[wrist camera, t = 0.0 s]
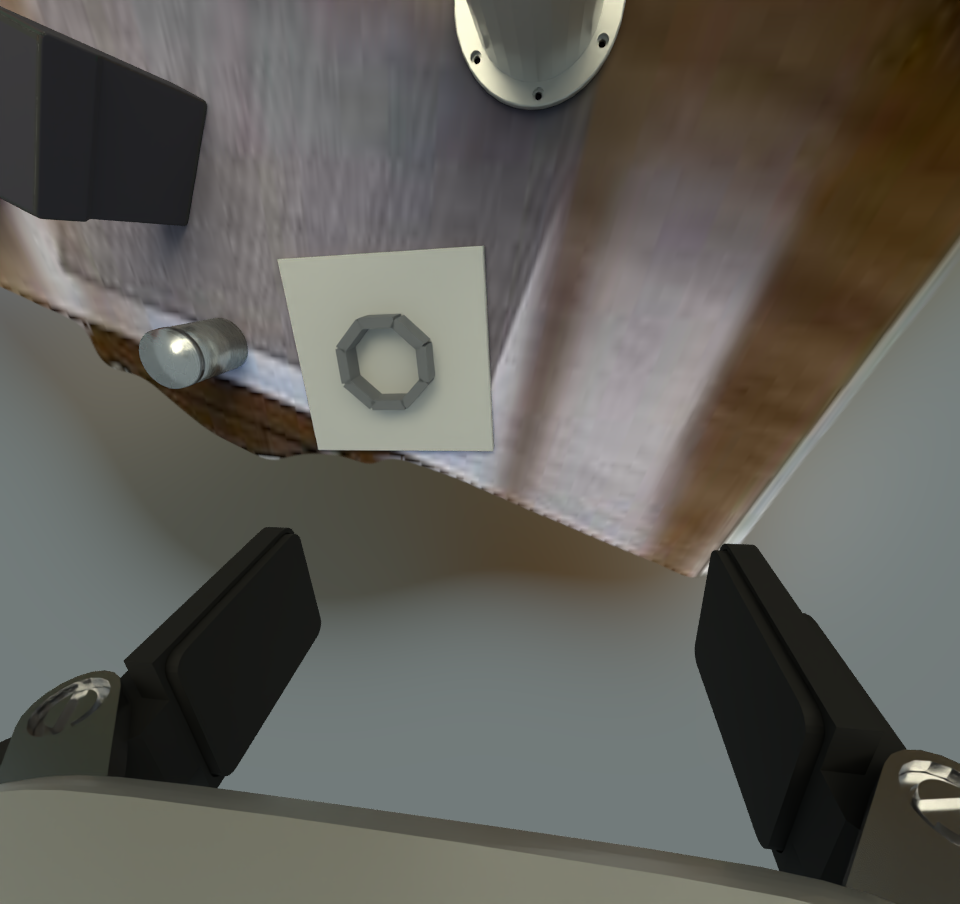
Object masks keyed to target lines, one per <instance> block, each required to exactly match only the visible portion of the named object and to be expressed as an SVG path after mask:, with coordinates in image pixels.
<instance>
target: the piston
mask: <svg viewBox="0 0 960 904" xmlns="http://www.w3.org/2000/svg"><path fill="white" fill-rule="evenodd" d="M139 354H140V359H141V362H142V364H143V366H144V368H145V369H146V371H147V372H148V374H149V375H150V376H151V377H152V378H153V379H154V380H155V381H157V382H158V383H159V384H161V385H163V386H165V387H168V388H172V389H180V388H183V387H188V386H191V385H193V384H195V383H197V382H200V381H203V380H205V379H208V378H211V377H214V376H216V375H219V374H222V373H225V372H227V371H230V370H233V369H236V368H238V367H240V366H241V365H242V364H243V363H244V362H245V360H246V358H247V354H248V346H247V342H246V339H245V337H244V335H243V333H242V332H241V330H240V329H239V328H238V327H237V326H236V325H235V324H233V323H232V322H230V321H228V320H226V319H223V318H213V319H207V320H202V321H197V322H192V323H187V324H182V325H176V326H171V327H163V328H158V329H155V330H151V331H149V332H147V333H146V334H145V335H144V336H143V337H142V339H141V341H140V345H139Z"/></svg>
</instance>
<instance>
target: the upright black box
mask: <svg viewBox="0 0 960 904" xmlns="http://www.w3.org/2000/svg"><path fill="white" fill-rule="evenodd" d="M206 109H207V104H206V102H205V101H204V100H203V99H201V98H199V97H197V96H196V95H194V94H192V93H190V92H188V91H186V90H185V89H183V88H181V87H179V86H177V85H175V84H173V83H171V82H169V81H167V80H164V79H162V78H160V77H158V76H155V75H153V74H151V73H149V72H146V71H144V70H142V69H140V68H137V67H135V66H133V65H131V64H128V63H126V62H124V61H122V60H119V59H117V58H115V57H113V56H110V55H108V54H106V53H104V52H102V51H99V50H97V49H95V48H93V47H90V46H88V45H86V44H84V43H81V42H79V41H77V40H75V39H72V38H70V37H68V36H66V35H63V34H61V33H59V32H57V31H54V30H52V29H50V28H48V27H45V26H43V25H41V24H39V23H37V22H34V21H32V20H30V19H28V18H25V17H23V16H21V15H19V14H16V13H14V12H12V11H10V10H7V9H5V8H3V7H1V6H0V198H1V199H3V200H5V201H7V202H9V203H11V204H13V205H14V206H16V207H18V208H20V209H22V210H24V211H26V212H28V213H30V214H32V215H34V216H36V217H38V218H40V219H51V220H66V221H82V222H86V221H87V220H89V219H99V220H113V221H126V222H140V223H153V224H167V225H180V226H185V225H186V224H187V223H188V218H189V212H190V206H191V200H192V193H193V187H194V181H195V175H196V169H197V163H198V157H199V151H200V145H201V139H202V133H203V127H204V121H205V115H206Z"/></svg>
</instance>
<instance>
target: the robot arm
mask: <svg viewBox="0 0 960 904" xmlns="http://www.w3.org/2000/svg"><path fill="white" fill-rule="evenodd" d="M625 2H626V0H454V19H455V27H456V34H457V38H458V41H459V45H460V48H461V51H462V54H463V57H464V59H465V61H466V63H467V66H468V67H469V69H470V71H471V72H472V74H473V76H474V77H475V79H476V80H477V82H478V83H479V84H480V85H481V86H482V87H483V88H484V89H485V91H486V92H487V93H489V94H490V95H491V96H493V97H494V98H495V99H497V100H498V101H500V102H502V103H504V104H506V105H509V106H511V107H514V108H519V109H525V110H536V109H545V108H548V107H552V106H555V105H558V104H560V103H562V102H564V101H566V100H568V99H569V98H571V97H573V96H574V95H575V94H577V93H578V92H579V91H580V90H582V89H583V88H584V87H585V86H586V85H587V84H588V83H589V82H590V81H591V80H592V78H593V77H594V76H595V75H596V74H597V73H598V71H599V70H600V68H601V67H602V65H603V64H604V62H605V60H606V59H607V57H608V56H609V54H610V51H611V49H612V47H613V44H614V42H615V40H616V38H617V35H618V31H619V28H620V25H621V22H622V17H623V12H624V7H625ZM600 42H604V43H605V47H604V48H600V47H599V45H598V44H599V43H600ZM477 58H480V63H479V64H475V60H476V59H477ZM537 94H541V95H542V98H541V99H540V100H536V99H535V97H536V95H537ZM320 627H321V619H320V615H319V610H318V607H317V603H316V599H315V595H314V591H313V587H312V583H311V579H310V575H309V571H308V567H307V563H306V560H305V556H304V552H303V548H302V544H301V540H300V537H299V536H298V535H296V534H294V532H293V531H292V529H290V528H277V527H266V528H264V529H262V530H261V531H260V532H259V533H258V534H257V535H256V536H255V537H254V538H253V539H251V540H250V541H249V542H248V543H247V544H246V545H245V546H244V547H243V548H242V549H241V550H240V551H239V552H238V553H237V554H236V555H235V556H234V557H233V558H232V559H230V560H229V561H228V562H227V563H226V564H225V565H224V566H223V567H222V568H221V569H220V570H219V571H218V572H217V573H216V574H215V575H214V576H213V577H211V578H210V579H209V580H208V581H207V582H206V583H205V584H204V585H203V586H202V587H201V588H200V589H199V590H198V591H197V592H196V593H195V594H194V595H193V596H191V597H190V598H189V599H188V600H187V601H186V602H185V603H184V604H183V605H182V606H181V607H180V608H179V609H178V610H177V611H176V612H175V613H173V614H172V615H171V616H170V617H169V618H168V619H167V620H166V621H165V622H164V623H163V624H162V625H161V626H160V627H159V628H158V629H157V630H156V631H154V633H152V634H151V635H150V636H149V637H148V638H147V639H146V640H145V641H144V642H143V643H142V644H141V645H140V646H139V647H138V648H137V649H135V650H134V651H133V652H132V653H131V654H130V655H129V656H128V657H127V658H126V659H125V660H124V663H125V665H126V667H127V669H128V671H127V672H126V673H125V674H124V675H123V676H122V677H121V678H120V677H119V676H118V675H116V674H115V673H114V672H110V671H105V670H104V671H95V672H90V673H86V674H83V675H80V676H77V677H75V678H73V679H70V680H68V681H66V682H64V683H62V684H60V685H59V686H57V687H56V688H54V689H52V690H51V691H49V692H47V693H46V694H45V695H43V696H42V697H41V698H40V699H38V700H37V701H36V702H35V703H33V704H32V705H31V706H30V708H29V709H28V710H27V711H26V712H25V713H24V714H23V715H22V716H21V718H20V720H19V721H18V723H17V725H16V727H15V729H14V732H13V734H12V737H11V738H9V739H6V740H4V741H2V742H0V904H960V763H957V762H955V761H953V760H951V759H948V758H946V757H944V756H942V755H938V754H934V753H930V752H926V751H923V750H907V749H906V748H905V746H904V745H903V744H902V742H901V741H900V739H899V738H898V737H897V735H896V734H895V732H894V731H893V729H892V728H891V727H890V725H889V724H888V722H887V721H886V720H885V718H884V717H883V716H882V714H881V713H880V711H879V710H878V708H877V707H876V705H875V704H874V703H873V702H872V700H871V699H870V697H869V696H868V694H867V693H866V691H865V690H864V689H863V687H862V686H861V684H860V683H859V682H858V680H857V679H856V677H855V676H854V675H853V673H852V672H851V670H850V669H849V668H848V666H847V665H846V663H845V662H844V660H843V659H842V658H841V656H840V655H839V653H838V652H837V651H836V649H835V648H834V646H833V645H832V644H831V642H830V641H829V639H828V638H827V637H826V635H825V634H824V633H823V631H822V630H821V628H820V627H819V626H818V624H817V623H816V621H815V620H814V619H813V618H812V617H811V616H809V615H807V614H805V613H802V612H801V610H800V609H799V607H798V606H797V604H796V603H795V602H794V600H793V599H792V597H791V596H790V594H789V593H788V591H787V590H786V589H785V587H784V586H783V584H782V583H781V581H780V580H779V579H778V577H777V576H776V574H775V573H774V571H773V570H772V569H771V567H770V565H769V564H768V563H767V561H766V560H765V558H764V557H763V555H762V554H761V552H760V551H759V549H758V548H757V547H756V546H755V545H746V544H745V545H744V544H723V545H722V546H721V548H720V551H718V550H714V551H713V552H712V553H711V557H710V563H709V568H708V574H707V580H706V586H705V591H704V597H703V603H702V609H701V614H700V620H699V625H698V631H697V637H696V642H695V658H696V663H697V666H698V669H699V672H700V675H701V678H702V681H703V683H704V686H705V689H706V692H707V695H708V698H709V701H710V704H711V707H712V709H713V712H714V715H715V718H716V721H717V724H718V727H719V730H720V732H721V735H722V738H723V741H724V744H725V747H726V750H727V753H728V755H729V758H730V761H731V764H732V767H733V770H734V773H735V775H736V778H737V781H738V784H739V787H740V790H741V793H742V796H743V798H744V801H745V804H746V807H747V810H748V813H749V816H750V819H751V822H752V824H753V827H754V830H755V833H756V836H757V838H758V841H759V842H760V844H761V846H762V847H763V848H765V849H772V852H773V855H774V857H775V860H776V863H777V866H778V868H779V871H777V870H772V869H767V868H763V867H757V866H751V865H745V864H739V863H733V862H727V861H721V860H714V859H709V858H702V857H696V856H690V855H683V854H678V853H672V852H665V851H660V850H653V849H647V848H640V847H634V846H627V845H619V844H613V843H606V842H599V841H591V840H585V839H578V838H571V837H564V836H557V835H551V834H544V833H537V832H529V831H523V830H516V829H510V828H503V827H495V826H489V825H482V824H475V823H467V822H460V821H453V820H445V819H439V818H431V817H424V816H417V815H410V814H403V813H396V812H388V811H381V810H374V809H366V808H360V807H352V806H345V805H338V804H331V803H324V802H316V801H309V800H308V801H307V800H301V799H294V798H286V797H278V796H271V795H263V794H255V793H248V792H241V791H233V790H225V789H218V786H219V785H220V783H221V782H222V780H223V778H224V777H225V776H228V775H230V774H231V773H232V772H233V771H234V770H235V768H236V767H237V766H238V764H239V762H240V761H241V759H242V757H243V756H244V754H245V753H246V751H247V749H248V748H249V746H250V744H251V743H252V741H253V740H254V738H255V736H256V735H257V733H258V732H259V730H260V728H261V727H262V725H263V723H264V722H265V720H266V719H267V717H268V715H269V714H270V712H271V710H272V709H273V707H274V706H275V704H276V702H277V701H278V699H279V698H280V696H281V694H282V693H283V691H284V689H285V688H286V686H287V685H288V683H289V681H290V680H291V678H292V676H293V675H294V673H295V672H296V670H297V668H298V667H299V665H300V663H301V662H302V660H303V659H304V657H305V655H306V653H307V652H308V650H309V649H310V647H311V646H312V644H313V642H314V641H315V639H316V638H317V636H318V634H319V631H320Z"/></svg>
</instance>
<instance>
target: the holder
mask: <svg viewBox="0 0 960 904" xmlns="http://www.w3.org/2000/svg"><path fill="white" fill-rule="evenodd" d="M277 260H278V264H279V269H280V273H281V278H282V283H283V287H284V292H285V297H286V301H287V306H288V311H289V315H290V320H291V325H292V329H293V334H294V338H295V343H296V348H297V352H298V357H299V362H300V366H301V371H302V376H303V380H304V385H305V390H306V394H307V399H308V403H309V408H310V413H311V417H312V422H313V427H314V431H315V436H316V441H317V445H318V450H399V451H493V449H494V440H493V420H492V399H491V378H490V358H489V337H488V316H487V295H486V275H485V254H484V246H472V247H456V248H441V249H426V250H411V251H396V252H380V253H365V254H350V255H335V256H319V257H304V258H289V259H277Z"/></svg>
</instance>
